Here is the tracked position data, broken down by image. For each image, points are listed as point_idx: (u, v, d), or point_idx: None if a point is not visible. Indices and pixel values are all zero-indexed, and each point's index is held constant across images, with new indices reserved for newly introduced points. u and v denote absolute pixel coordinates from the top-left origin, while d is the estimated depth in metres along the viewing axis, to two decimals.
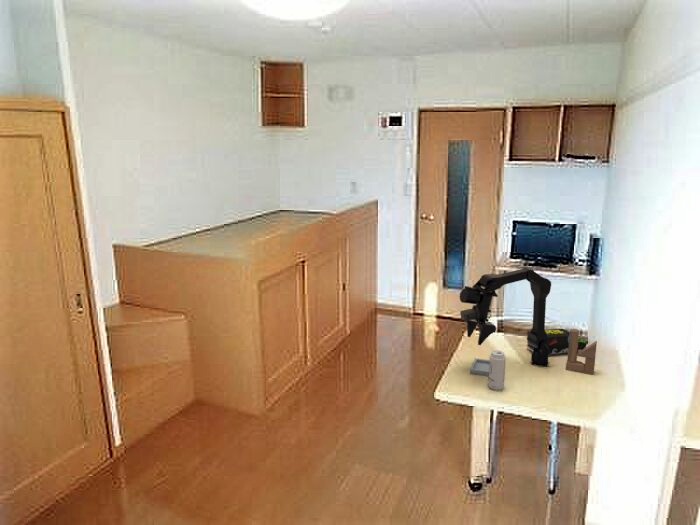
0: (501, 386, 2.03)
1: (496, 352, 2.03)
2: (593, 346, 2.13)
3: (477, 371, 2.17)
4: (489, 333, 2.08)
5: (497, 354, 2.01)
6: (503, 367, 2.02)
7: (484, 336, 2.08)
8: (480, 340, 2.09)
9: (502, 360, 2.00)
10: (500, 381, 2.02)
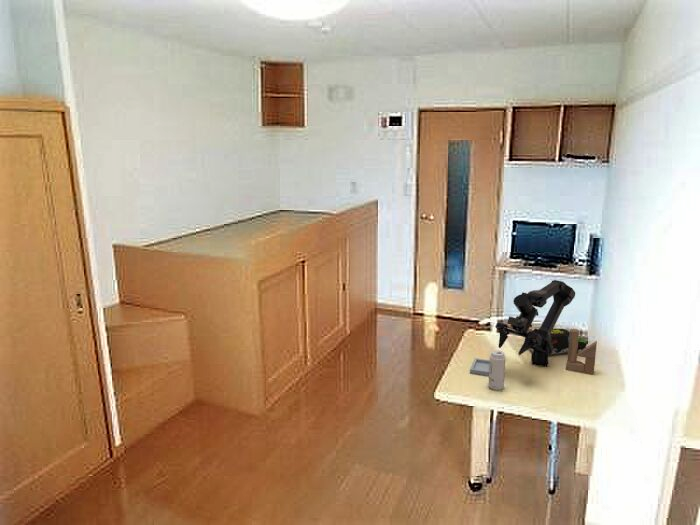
0: (501, 386, 2.03)
1: (496, 352, 2.03)
2: (593, 346, 2.13)
3: (477, 371, 2.17)
4: (531, 345, 2.06)
5: (497, 354, 2.01)
6: (503, 367, 2.02)
7: (527, 347, 2.05)
8: (523, 349, 2.04)
9: (502, 360, 2.00)
10: (500, 381, 2.02)
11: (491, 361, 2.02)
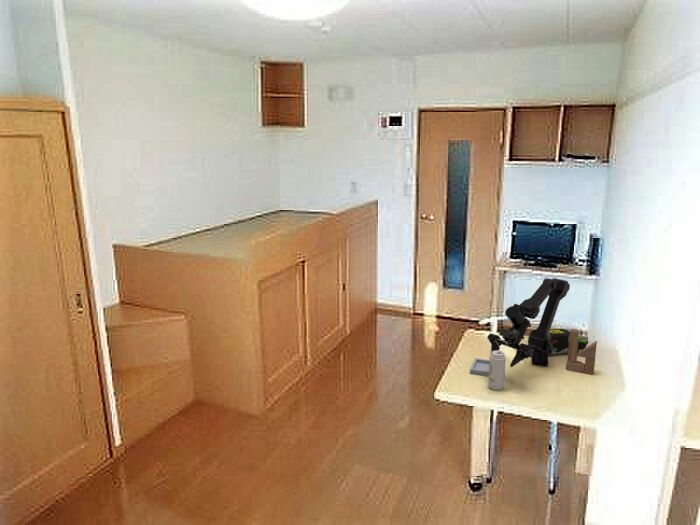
0: (501, 386, 2.03)
1: (496, 352, 2.03)
2: (593, 346, 2.13)
3: (477, 371, 2.17)
4: (523, 357, 2.03)
5: (497, 354, 2.01)
6: (503, 367, 2.02)
7: (518, 359, 2.03)
8: (514, 362, 2.02)
9: (502, 360, 2.00)
10: (500, 381, 2.02)
11: (491, 361, 2.02)
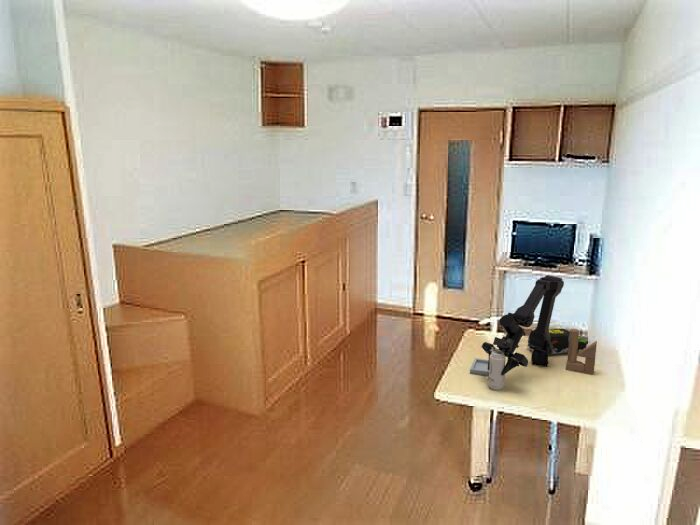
0: (501, 386, 2.03)
1: (496, 352, 2.03)
2: (593, 346, 2.13)
3: (477, 371, 2.17)
4: (514, 366, 2.03)
5: (497, 354, 2.01)
6: (503, 367, 2.02)
7: (509, 367, 2.02)
8: (505, 370, 2.01)
9: (502, 360, 2.01)
10: (500, 381, 2.02)
11: (491, 361, 2.02)
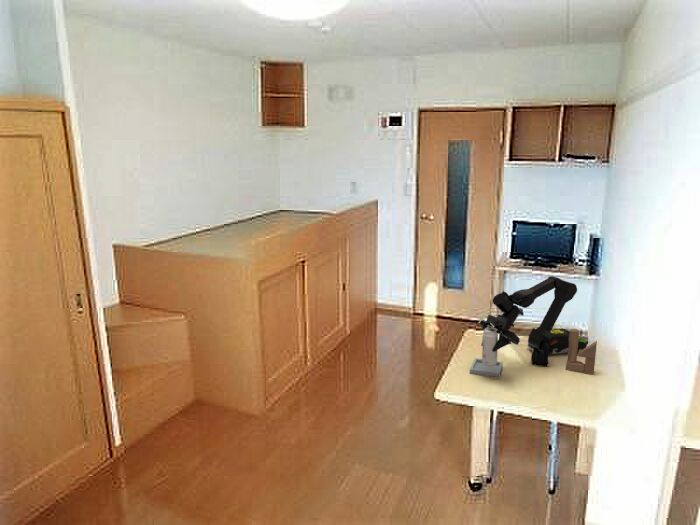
0: (493, 362, 2.10)
1: (489, 329, 2.11)
2: (593, 346, 2.13)
3: (477, 371, 2.17)
4: (506, 343, 2.09)
5: (489, 331, 2.09)
6: (494, 344, 2.09)
7: (501, 344, 2.08)
8: (496, 347, 2.08)
9: (493, 337, 2.08)
10: (492, 357, 2.10)
11: (483, 337, 2.10)
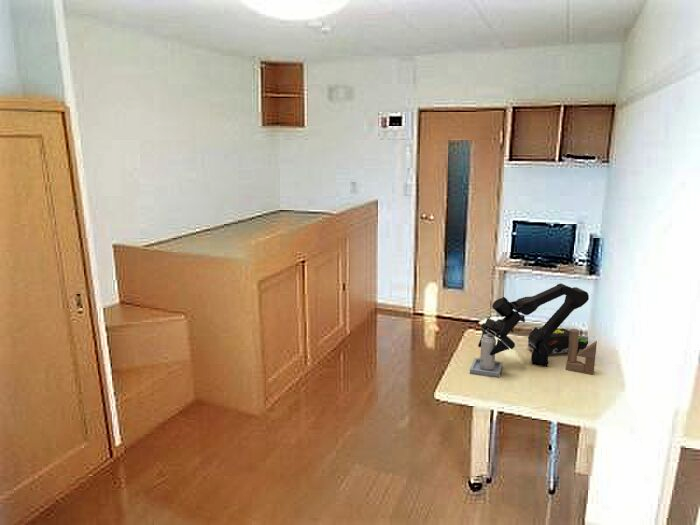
0: (489, 367, 2.18)
1: (488, 335, 2.19)
2: (593, 346, 2.13)
3: (477, 371, 2.17)
4: (505, 348, 2.14)
5: (487, 337, 2.17)
6: (491, 350, 2.17)
7: (499, 349, 2.14)
8: (494, 351, 2.14)
9: (490, 343, 2.16)
10: (488, 362, 2.18)
11: (481, 342, 2.19)
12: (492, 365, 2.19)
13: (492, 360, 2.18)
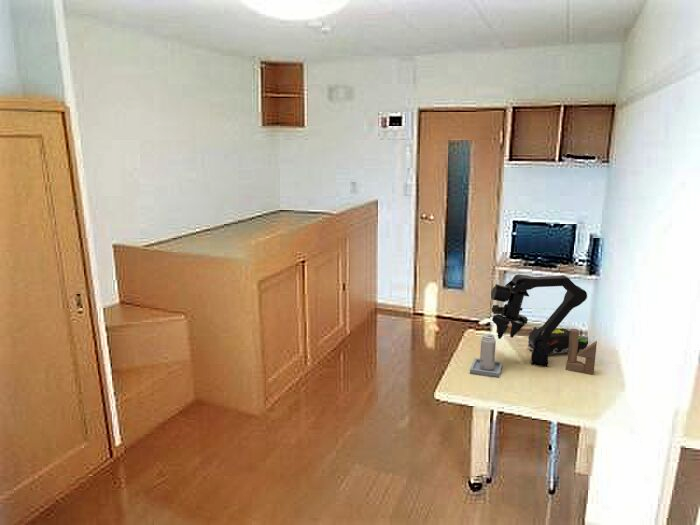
0: (489, 367, 2.19)
1: (487, 335, 2.19)
2: (593, 346, 2.13)
3: (477, 371, 2.17)
4: (504, 327, 2.17)
5: (486, 337, 2.17)
6: (491, 349, 2.17)
7: (501, 330, 2.18)
8: (498, 333, 2.20)
9: (490, 343, 2.16)
10: (488, 362, 2.18)
11: (481, 342, 2.19)
12: (492, 365, 2.19)
13: (492, 360, 2.18)
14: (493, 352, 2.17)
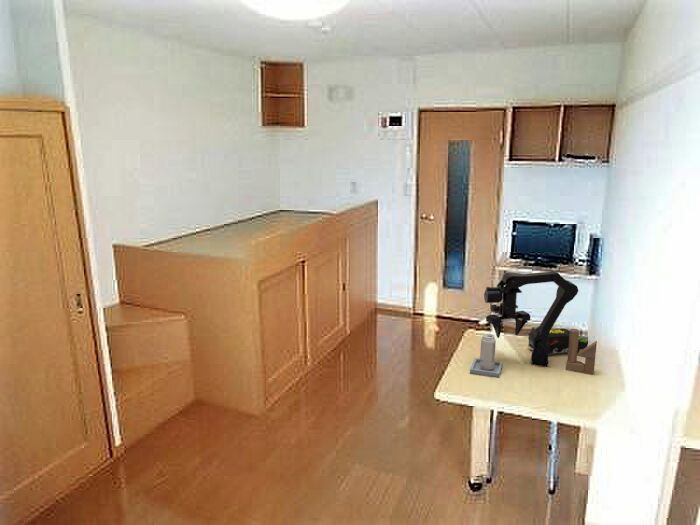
0: (489, 367, 2.19)
1: (487, 335, 2.19)
2: (593, 346, 2.13)
3: (477, 371, 2.17)
4: None
5: (486, 337, 2.17)
6: (491, 349, 2.17)
7: (496, 329, 2.21)
8: (496, 332, 2.23)
9: (490, 343, 2.16)
10: (488, 362, 2.18)
11: (481, 342, 2.19)
12: (492, 365, 2.19)
13: (492, 360, 2.18)
14: (493, 352, 2.18)
